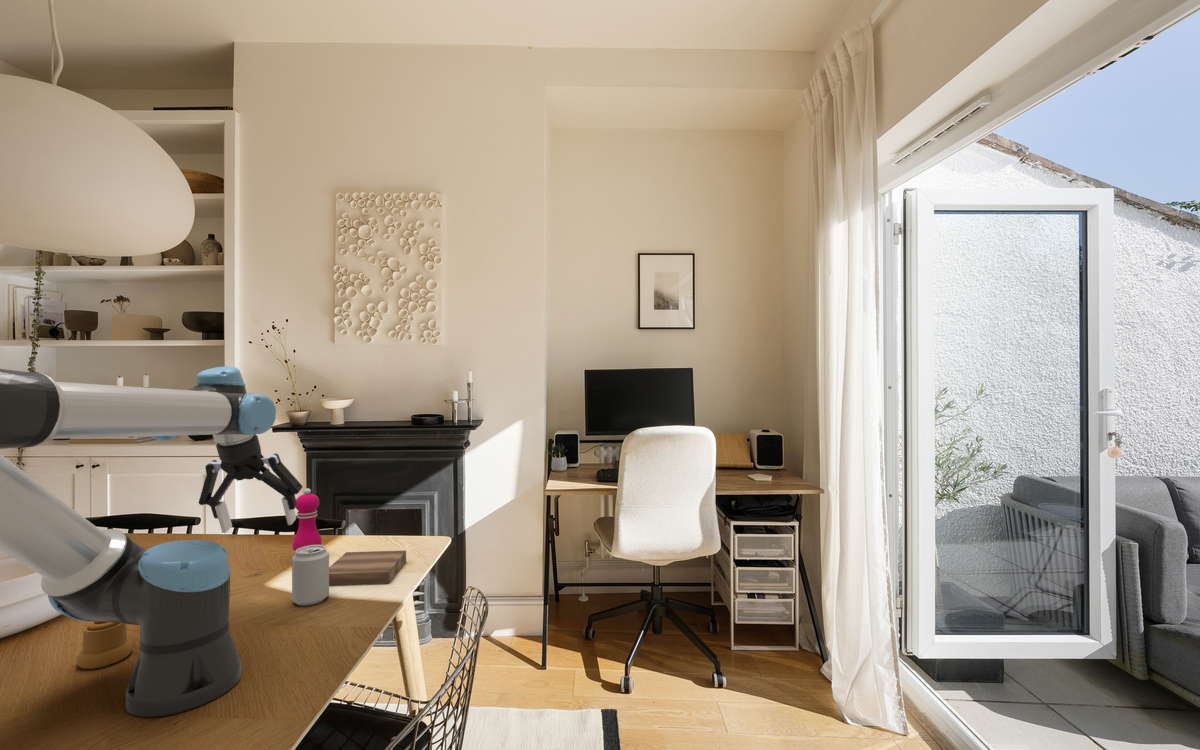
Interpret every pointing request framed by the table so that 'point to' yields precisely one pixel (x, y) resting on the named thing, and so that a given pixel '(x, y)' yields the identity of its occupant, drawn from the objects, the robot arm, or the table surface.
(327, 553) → the can
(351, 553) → the walnut plinth
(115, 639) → the ornamental finial
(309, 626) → the table surface
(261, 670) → the table surface
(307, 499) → the pepper mill
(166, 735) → the table surface
